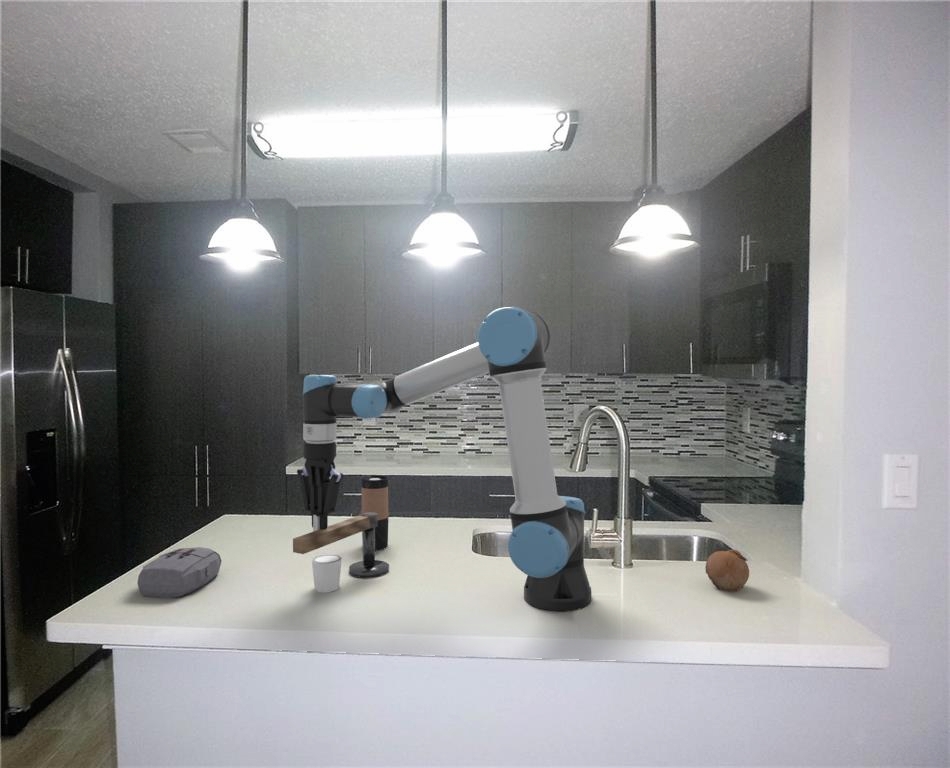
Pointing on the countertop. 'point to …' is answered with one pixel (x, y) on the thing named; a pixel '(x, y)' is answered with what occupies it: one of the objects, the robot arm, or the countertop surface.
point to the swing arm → (334, 532)
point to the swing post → (369, 559)
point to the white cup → (326, 572)
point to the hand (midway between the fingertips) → (319, 541)
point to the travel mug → (377, 506)
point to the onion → (727, 570)
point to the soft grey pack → (179, 572)
